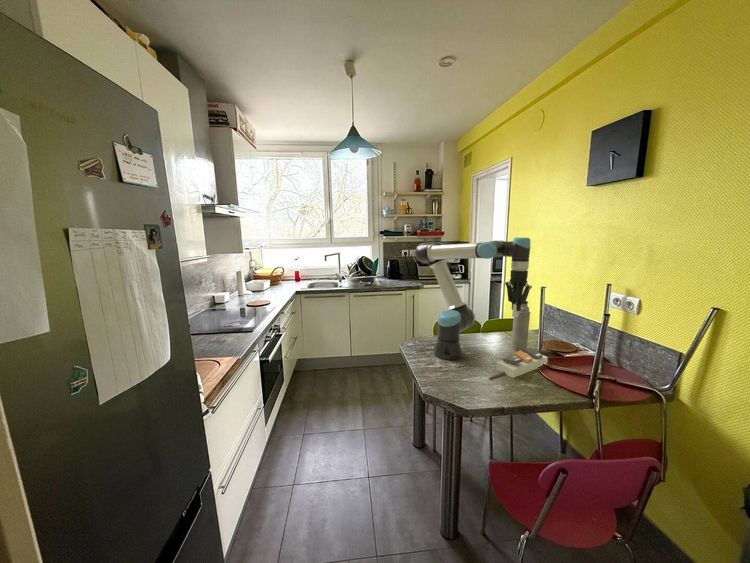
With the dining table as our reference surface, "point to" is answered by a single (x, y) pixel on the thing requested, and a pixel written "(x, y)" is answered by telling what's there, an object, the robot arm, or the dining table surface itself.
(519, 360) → the rocker
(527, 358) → the orange flat block
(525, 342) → the thermos bottle
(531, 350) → the rocker
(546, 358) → the power strip
